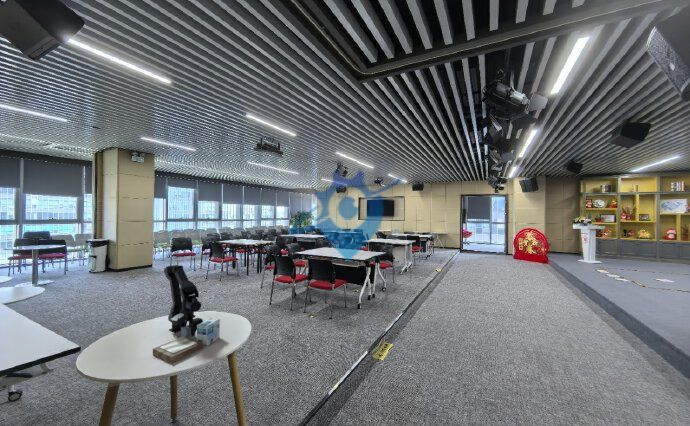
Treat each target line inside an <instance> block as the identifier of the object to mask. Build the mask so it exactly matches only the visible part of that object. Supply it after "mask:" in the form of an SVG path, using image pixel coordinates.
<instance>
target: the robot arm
mask: <svg viewBox="0 0 690 426" xmlns="http://www.w3.org/2000/svg"><path fill="white" fill-rule="evenodd" d="M163 273H164V275H165V278H166V279H167V280H168V281H169V284H170V293H171V300H172V304H171V308H170V312H169V314H168V317H167V321H169V322H170V323H171V328H169V329H168V330H169V331H170V332H173V333H178V332H181V327H184V326H187V325H189V326H188V327H190V328H191V336H194V334H195V335H196V333H197V325H198V324H200V323H202V322H203V321H204V319H203V318H200V317H196V315H195V312H198V311H200V310H201V308H202V303H201V302H200V301H199V300H198V298H199V290H198V288H197V286H196V285H195V284H194V282H193V281H191V280H190V279H189V277H188V276H187V274H186V272H185V270H184V266H183V265H182V264H181V265H178V264H174V265H167V266H166V267H164V269H163Z"/></svg>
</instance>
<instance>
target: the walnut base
mask: <svg viewBox="0 0 690 426" xmlns="http://www.w3.org/2000/svg"><path fill="white" fill-rule="evenodd" d="M203 347H204V345H203V343H201V342H199V341H197V339H193V338H188V337H186V336H183V337H181V336H180V337H178V338H176V339H173V340H172V341H168V342H166V343H163V344H161V345H158V346H156V347H153V348H152V356H155V357H157V358H159V359H161V360H164V361H165V362H168V363H169V364H174V363H176V362H177V361H179V360H182V359H184V358H186V357H188V356H190V355H192V354H194V353H197V352H198V351H199V352H200V351H201V350H203Z"/></svg>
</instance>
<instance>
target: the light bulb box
mask: <svg viewBox="0 0 690 426" xmlns="http://www.w3.org/2000/svg"><path fill="white" fill-rule="evenodd" d="M220 320H221V319H220V318H215V317H214V318H213V317H209V318H207V319H205V320H203V322H202V323H200V324H198V325H197V330H196V341H199V342H201V343H203V346H204V347H205V346H206V347H208V346H209V345H211V344H212V343H213V342H215V341H216V340H218V339H219V338H220V331H221V330H220V323H221V321H220Z"/></svg>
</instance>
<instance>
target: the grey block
mask: <svg viewBox="0 0 690 426" xmlns="http://www.w3.org/2000/svg"><path fill="white" fill-rule="evenodd" d="M188 326H189V324H187V325H186V326H184V327H181V331H180V338H181V337H183V336H186V337H188V338H191V339H193V338H195V337H196V333H195V334H194V336H191V328H190V327H188Z"/></svg>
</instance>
